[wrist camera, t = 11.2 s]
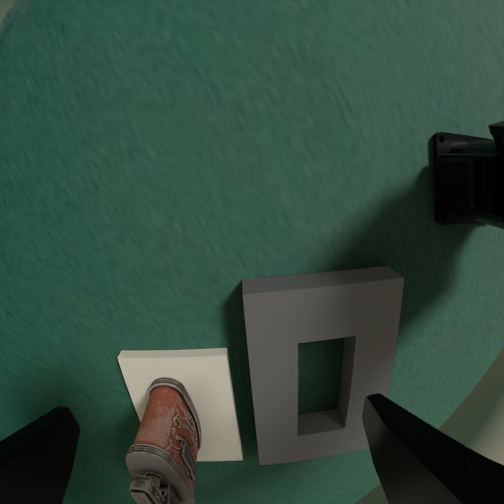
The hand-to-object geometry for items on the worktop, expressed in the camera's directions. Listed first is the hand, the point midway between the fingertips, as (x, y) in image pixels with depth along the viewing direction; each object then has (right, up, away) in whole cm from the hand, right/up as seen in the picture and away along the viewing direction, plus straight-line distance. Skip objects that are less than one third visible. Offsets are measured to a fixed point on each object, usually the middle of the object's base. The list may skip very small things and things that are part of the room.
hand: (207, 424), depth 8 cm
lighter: (-5, -8, +14) cm, 17 cm away
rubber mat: (-4, -8, +15) cm, 18 cm away
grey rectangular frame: (+6, -4, +15) cm, 16 cm away
